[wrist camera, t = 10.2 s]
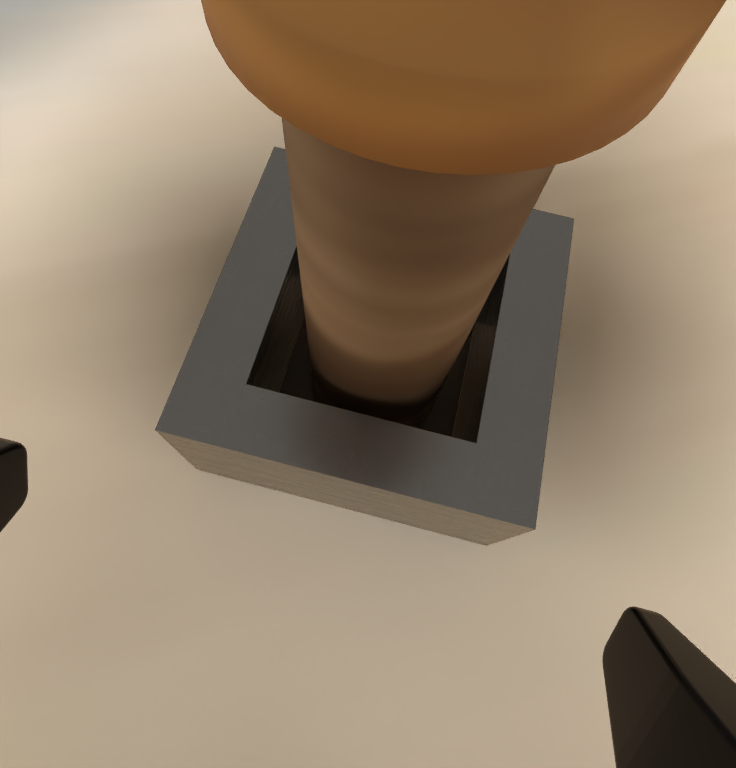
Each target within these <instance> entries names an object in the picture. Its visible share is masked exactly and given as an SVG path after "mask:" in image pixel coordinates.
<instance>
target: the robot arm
mask: <svg viewBox="0 0 736 768" xmlns="http://www.w3.org/2000/svg"><path fill="white" fill-rule="evenodd" d="M27 492H28V472H27V451H26V449H25V447H24V446H23V445H22V444H21V443H18V442H15V441H11V440H7V439H3V438H0V532H1V531H2V530H3V528H4V527H5V526H6V525H7V524H8V522H9V521H10V520H11V519H12V518H13V516H14V515H15V514H16V513H17V511H18V510H19V509H20V508H21V506H22V505H23V503H24V501H25V499H26V497H27ZM603 670H604V678H605V685H606V693H607V701H608V709H609V716H610V724H611V732H612V739H613V747H614V755H615V762H616V768H736V683H735V682H734V681H732V680H731V679H730V678H729V677H728V676H727V675H726V674H725V673H724V672H723V671H722V670H721V669H720V668H718V667H717V666H716V665H715V664H714V663H713V662H712V661H711V660H710V659H709V658H708V657H707V656H706V655H704V654H703V653H702V652H701V651H700V650H699V649H698V648H697V647H696V646H695V645H694V644H693V643H692V642H690V641H689V640H688V639H687V638H686V637H685V636H684V635H683V634H682V633H681V632H680V631H679V630H678V629H676V628H675V627H674V626H673V625H672V624H671V623H670V622H669V621H668V620H667V619H666V618H665V617H663V616H662V615H661V614H659V613H657V612H653V611H650V610H646V609H642V608H638V607H629V608H627V609H626V610H625V611H624V612H623V614H622V616H621V618H620V619H619V621H618V623H617V625H616V627H615V629H614V630H613V632H612V634H611V636H610V638H609V640H608V642H607V643H606V646H605V648H604V652H603Z"/></svg>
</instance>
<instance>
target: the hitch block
mask: <svg viewBox="0 0 736 768" xmlns="http://www.w3.org/2000/svg"><path fill="white" fill-rule="evenodd" d="M573 223H574V219H573V218H568V217H564V216H560V215H556V214H552V213H548V212H543V211H539V210H535V209H532V211H531V213H530V215H529V217H528V219H527V221H526V223H525V225H524V227H523V229H522V231H521V233H520V235H519V237H518V239H517V241H516V243H515V245H514V247H513V249H512V251H511V253H510V254H509V256H508V258H507V260H506V262H505V264H504V266H503V268H502V270H501V272H500V274H499V276H498V278H497V280H496V282H495V284H494V286H493V288H492V290H491V292H490V294H489V296H488V298H487V300H486V302H485V304H484V306H483V308H482V310H481V311H480V313H479V315H478V317H477V319H476V321H475V323H474V326H473V331H472V336H471V341H470V346H469V351H468V356H467V361H466V367H465V372H464V377H463V382H462V387H461V392H460V397H459V402H458V407H457V412H456V418H455V423H454V428H453V433H452V437H450V436H446V435H442V434H438V433H434V432H430V431H426V430H423V429H419V428H415V427H411V426H407V425H403V424H399V423H395V422H391V421H388V420H384V419H380V418H376V417H372V416H368V415H364V414H360V413H356V412H353V411H349V410H345V409H341V408H337V407H333V406H329V405H325V404H321V403H317V402H314V401H310V400H306V399H302V398H298V397H294V396H290V395H286V394H282V393H279V391H280V388H281V385H282V382H283V379H284V377H285V374H286V371H287V368H288V365H289V362H290V359H291V356H292V353H293V350H294V347H295V344H296V341H297V338H298V335H299V332H300V329H301V326H302V323H303V320H304V317H305V312H304V303H303V294H302V286H301V277H300V269H299V260H298V252H297V243H296V235H295V226H294V217H293V209H292V200H291V192H290V183H289V175H288V166H287V157H286V149H282V148H277V147H274V149H273V151H272V153H271V156H270V158H269V161H268V163H267V165H266V168H265V170H264V172H263V175H262V177H261V180H260V182H259V184H258V187H257V189H256V191H255V194H254V196H253V199H252V201H251V203H250V206H249V208H248V210H247V213H246V215H245V218H244V220H243V222H242V225H241V227H240V229H239V232H238V234H237V237H236V239H235V241H234V244H233V246H232V248H231V251H230V253H229V256H228V258H227V260H226V263H225V265H224V267H223V270H222V272H221V275H220V277H219V279H218V282H217V284H216V286H215V289H214V291H213V294H212V296H211V298H210V301H209V303H208V305H207V308H206V310H205V313H204V315H203V317H202V320H201V322H200V324H199V327H198V329H197V331H196V334H195V336H194V339H193V341H192V343H191V346H190V348H189V350H188V353H187V355H186V358H185V360H184V362H183V365H182V367H181V369H180V372H179V374H178V377H177V379H176V381H175V384H174V386H173V388H172V391H171V393H170V396H169V398H168V400H167V403H166V405H165V407H164V410H163V412H162V415H161V417H160V419H159V422H158V424H157V426H156V429H155V430H156V431H157V432H158V433H159V434H160V435H161V436H162V437H163V438H164V439H165V440H166V441H167V442H168V443H170V444H171V445H172V446H173V447H174V448H175V449H176V450H177V451H178V452H179V453H180V454H181V455H182V456H183V457H184V458H186V459H187V460H188V461H189V462H190V463H191V464H192V465H193V466H194V467H195V468H196V469H198V470H202V471H206V472H210V473H214V474H217V475H221V476H225V477H229V478H233V479H236V480H240V481H244V482H248V483H252V484H255V485H259V486H263V487H267V488H271V489H274V490H278V491H282V492H286V493H289V494H293V495H297V496H301V497H305V498H308V499H312V500H316V501H320V502H324V503H327V504H331V505H335V506H339V507H343V508H346V509H350V510H354V511H358V512H362V513H365V514H369V515H373V516H377V517H381V518H384V519H388V520H392V521H396V522H399V523H403V524H407V525H411V526H415V527H418V528H422V529H426V530H430V531H434V532H437V533H441V534H445V535H449V536H453V537H456V538H460V539H464V540H468V541H472V542H475V543H479V544H483V545H490V544H493V543H496V542H499V541H502V540H505V539H508V538H511V537H514V536H517V535H520V534H523V533H526V532H529V531H532V530H535V527H536V519H537V511H538V503H539V495H540V487H541V479H542V471H543V463H544V455H545V447H546V439H547V431H548V423H549V415H550V407H551V399H552V391H553V383H554V375H555V367H556V359H557V351H558V343H559V335H560V327H561V319H562V311H563V303H564V295H565V287H566V279H567V271H568V263H569V255H570V247H571V239H572V231H573Z"/></svg>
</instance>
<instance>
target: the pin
mask: <svg viewBox="0 0 736 768" xmlns="http://www.w3.org/2000/svg"><path fill="white" fill-rule="evenodd" d="M201 1H202V6H203V10H204V14H205V19H206V23H207V25H208V28H209V31H210V33H211V36H212V38H213V41H214V43H215V46H216V47H217V49H218V51H219V52H220V54H221V56H222V57H223V59H224V60H225V62H226V64H227V65H228V67H229V68H230V70H231V71H232V72H233V73H234V74H235V75H236V77H237V78H238V79H239V80H240V81H241V83H242V84H243V85H244V86H245V87H246V88H247V89H248V90H249V91H250V92H251V93H252V94H253V95H254V96H255V97H257V98H258V99H259V100H260V101H261V102H262V103H263V104H264V105H266V106H267V107H268V108H269V109H270V110H272V111H273V112H274V113H276V114H277V115H279V116H280V117H282V123H283V132H284V140H285V149H286V157H287V166H288V175H289V183H290V192H291V200H292V209H293V217H294V226H295V235H296V243H297V252H298V260H299V269H300V277H301V286H302V294H303V303H304V312H305V320H306V329H307V337H308V346H309V354H310V363H311V372H312V380H313V389H314V393H315V397H316V400H317V403H321V404H325V405H329V406H333V407H337V408H341V409H345V410H349V411H353V412H356V413H360V414H364V415H368V416H372V417H376V418H380V419H384V420H388V421H391V422H395V423H399V424H403V425H407V426H411V427H417V426H418V425H419V424H420V423H421V422H422V421H423V420H424V418H425V417H426V416H427V415H428V413H429V411H430V410H431V408H432V406H433V404H434V402H435V400H436V398H437V396H438V394H439V392H440V390H441V388H442V386H443V384H444V382H445V380H446V378H447V376H448V374H449V372H450V370H451V368H452V367H453V365H454V363H455V361H456V359H457V357H458V355H459V353H460V351H461V349H462V347H463V345H464V343H465V341H466V339H467V337H468V335H469V333H470V331H471V329H472V327H473V325H474V323H475V321H476V319H477V317H478V315H479V313H480V311H481V310H482V308H483V306H484V304H485V302H486V300H487V298H488V296H489V294H490V292H491V290H492V288H493V286H494V284H495V282H496V280H497V278H498V276H499V274H500V272H501V270H502V268H503V266H504V264H505V262H506V260H507V258H508V256H509V254H510V253H511V251H512V249H513V247H514V245H515V243H516V241H517V239H518V237H519V235H520V233H521V231H522V229H523V227H524V225H525V223H526V221H527V219H528V217H529V215H530V213H531V211H532V209H533V207H534V205H535V203H536V201H537V199H538V197H539V196H540V194H541V192H542V190H543V188H544V186H545V184H546V182H547V180H548V178H549V176H550V174H551V172H552V170H553V168H554V166H555V165H556V164H560V163H563V162H567V161H570V160H574V159H576V158H579V157H581V156H583V155H586V154H588V153H591V152H593V151H595V150H598V149H600V148H602V147H604V146H606V145H607V144H609V143H611V142H612V141H614V140H616V139H617V138H619V137H621V136H622V135H624V134H626V133H627V132H628V131H630V130H631V129H632V128H633V127H634V126H636V125H637V124H638V123H639V122H640V121H642V120H643V119H644V118H645V117H646V116H647V115H648V114H649V113H650V112H651V111H652V109H653V108H654V107H655V106H656V105H657V103H658V102H659V101H660V100H661V99H662V98H663V96H664V95H665V93H666V91H667V90H668V88H669V87H670V85H671V84H672V82H673V81H674V79H675V78H676V76H677V75H678V73H679V72H680V70H681V69H682V67H683V66H684V64H685V63H686V61H687V59H688V58H689V56H690V55H691V53H692V52H693V50H694V49H695V47H696V46H697V44H698V43H699V41H700V40H701V38H702V37H703V35H704V34H705V32H706V31H707V29H708V28H709V26H710V24H711V23H712V21H713V20H714V18H715V17H716V15H717V14H718V12H719V11H720V9H721V8H722V6H723V5H724V3H725V2H726V0H201Z"/></svg>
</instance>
